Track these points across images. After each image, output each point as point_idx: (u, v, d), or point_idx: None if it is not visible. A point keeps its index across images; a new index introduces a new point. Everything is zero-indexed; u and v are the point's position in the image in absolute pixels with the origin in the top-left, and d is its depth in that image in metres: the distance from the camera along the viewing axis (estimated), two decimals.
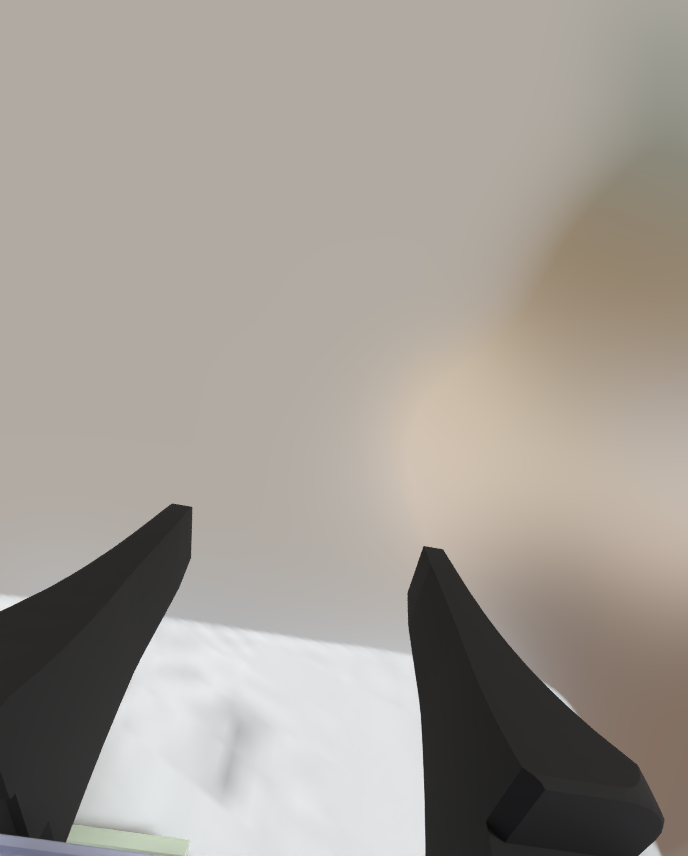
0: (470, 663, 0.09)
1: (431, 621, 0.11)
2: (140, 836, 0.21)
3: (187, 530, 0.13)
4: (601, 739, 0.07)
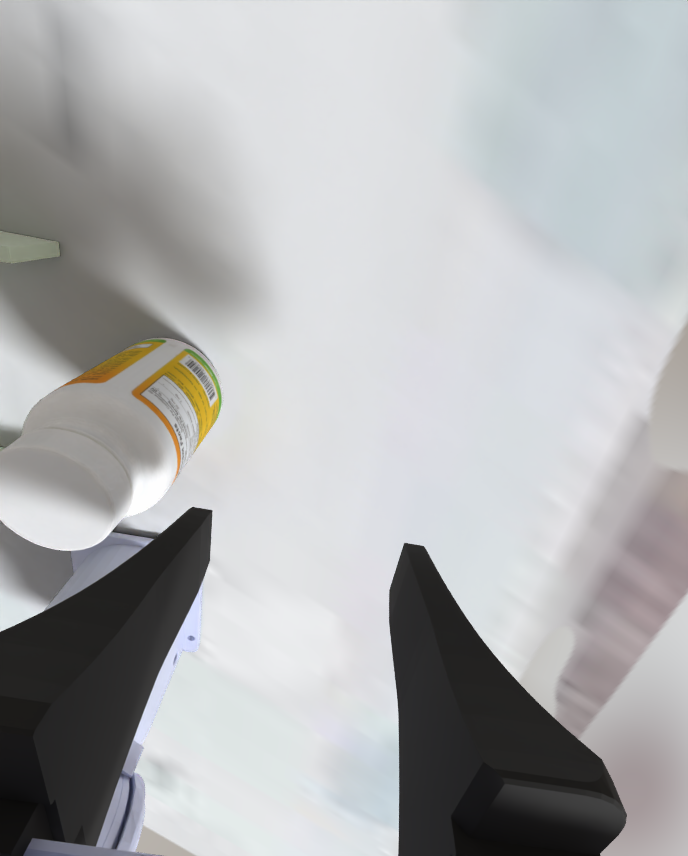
0: (442, 658, 0.09)
1: (409, 617, 0.11)
2: None
3: (207, 533, 0.13)
4: (568, 734, 0.07)
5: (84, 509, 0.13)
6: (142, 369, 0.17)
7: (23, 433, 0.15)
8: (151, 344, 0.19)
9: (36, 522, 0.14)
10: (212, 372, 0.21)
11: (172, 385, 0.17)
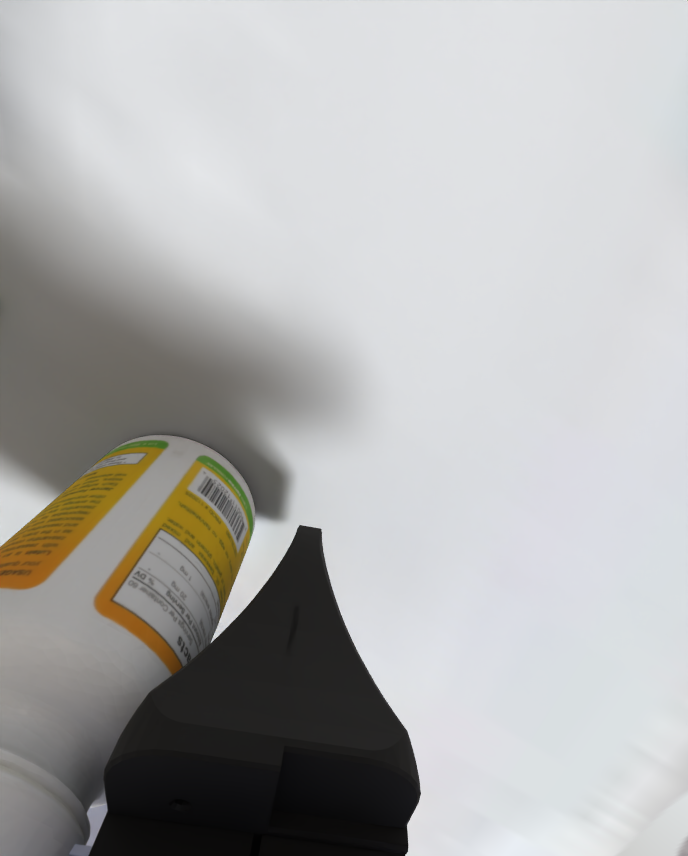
0: (286, 634, 0.09)
1: None
2: None
3: None
4: (383, 706, 0.07)
5: None
6: (122, 525, 0.09)
7: None
8: (143, 456, 0.12)
9: None
10: (240, 487, 0.13)
11: (174, 548, 0.10)
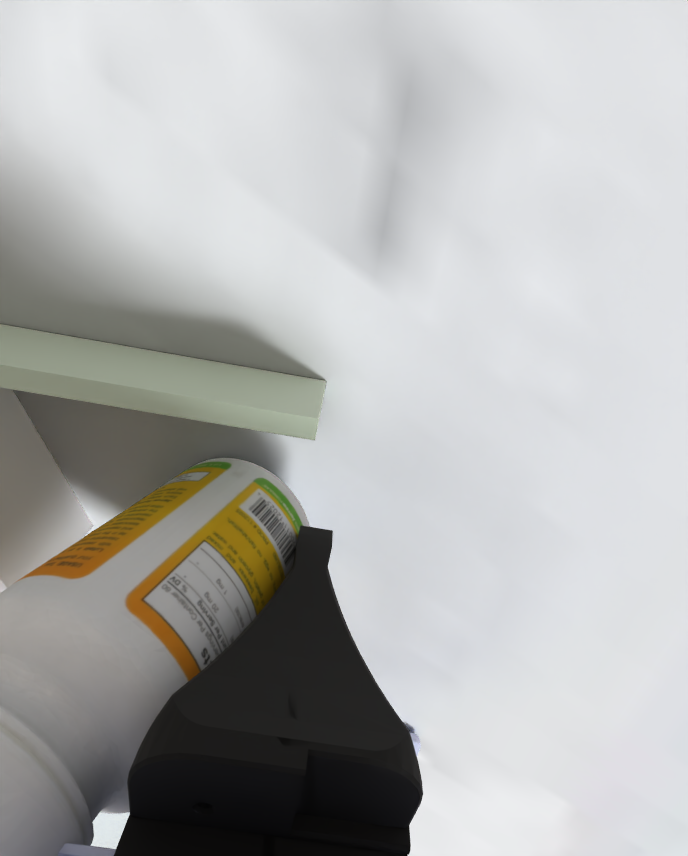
0: (288, 634, 0.09)
1: None
2: (224, 407, 0.11)
3: None
4: (385, 706, 0.07)
5: None
6: (170, 532, 0.10)
7: None
8: (206, 474, 0.13)
9: None
10: (295, 512, 0.13)
11: (214, 560, 0.10)
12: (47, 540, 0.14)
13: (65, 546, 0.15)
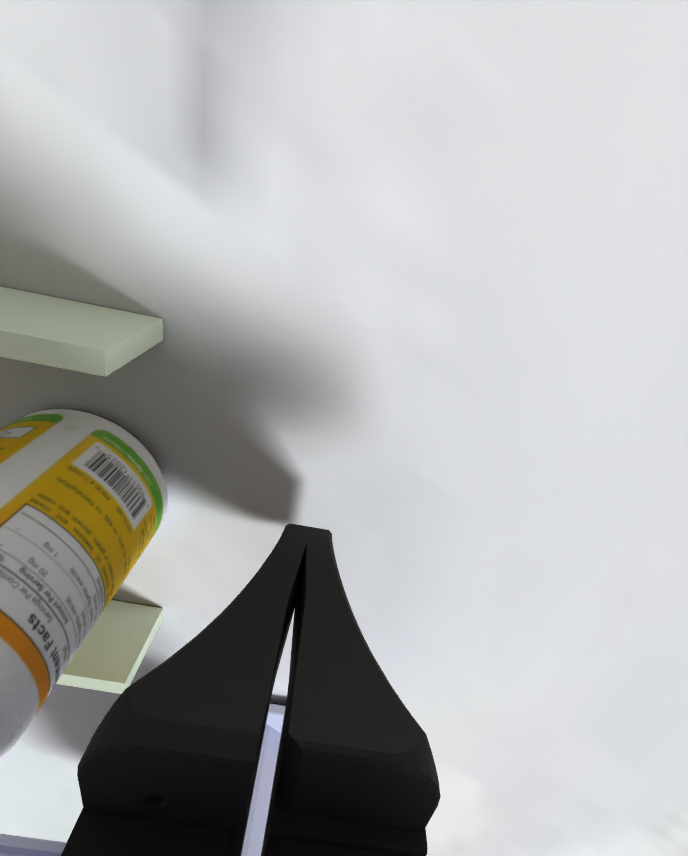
0: (301, 636, 0.09)
1: (300, 600, 0.11)
2: None
3: None
4: (401, 709, 0.07)
5: None
6: None
7: None
8: (30, 430, 0.11)
9: None
10: (143, 463, 0.13)
11: (40, 524, 0.09)
12: None
13: None
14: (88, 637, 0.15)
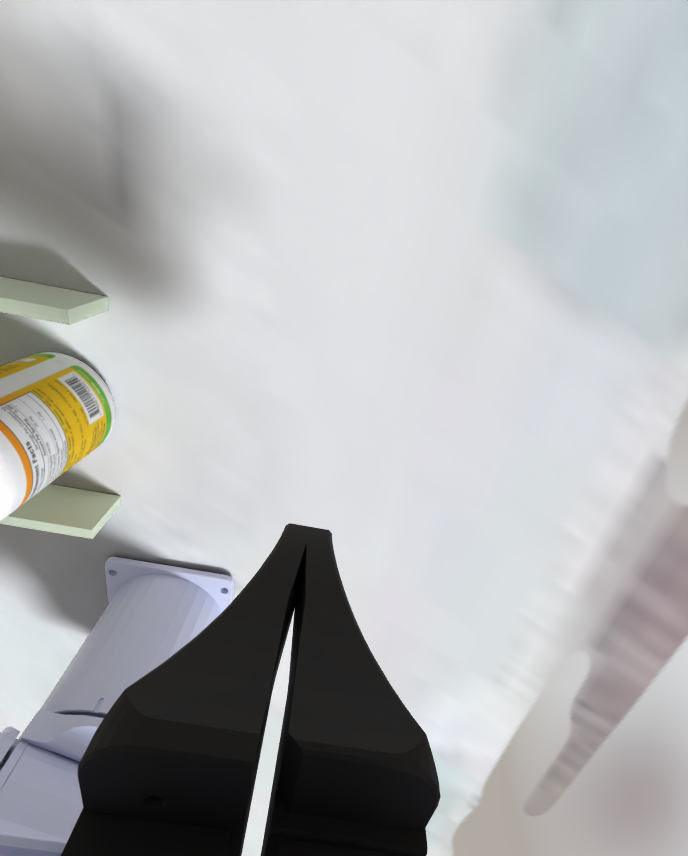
0: (301, 636, 0.09)
1: (300, 600, 0.11)
2: (9, 301, 0.17)
3: None
4: (401, 708, 0.07)
5: None
6: (7, 385, 0.17)
7: None
8: (35, 359, 0.20)
9: None
10: (101, 389, 0.21)
11: (36, 402, 0.18)
12: None
13: None
14: (69, 507, 0.24)
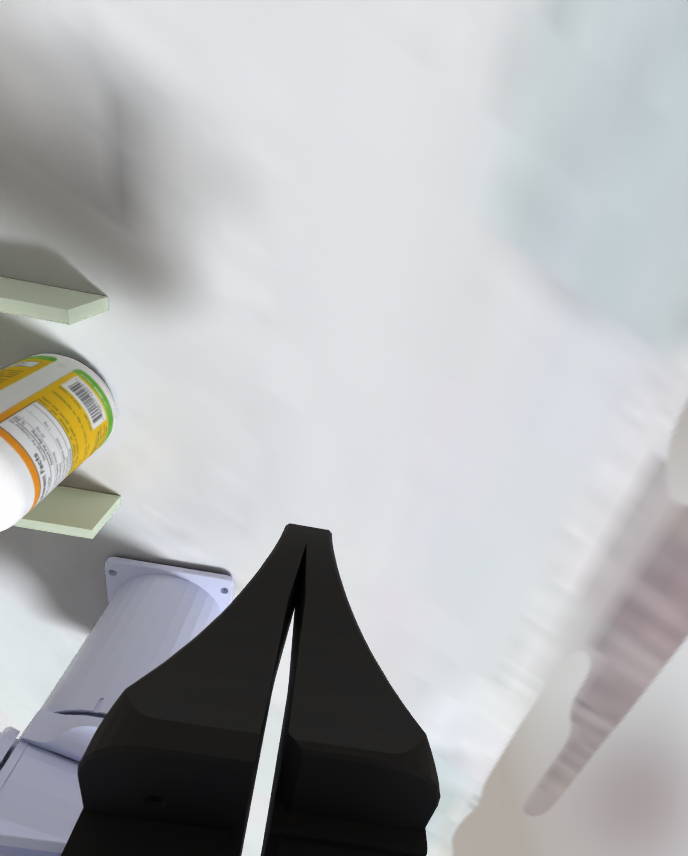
0: (301, 636, 0.09)
1: (300, 600, 0.11)
2: (9, 301, 0.17)
3: None
4: (401, 708, 0.07)
5: None
6: (12, 394, 0.17)
7: None
8: (37, 363, 0.20)
9: None
10: (103, 393, 0.21)
11: (42, 412, 0.18)
12: None
13: None
14: (69, 507, 0.24)
